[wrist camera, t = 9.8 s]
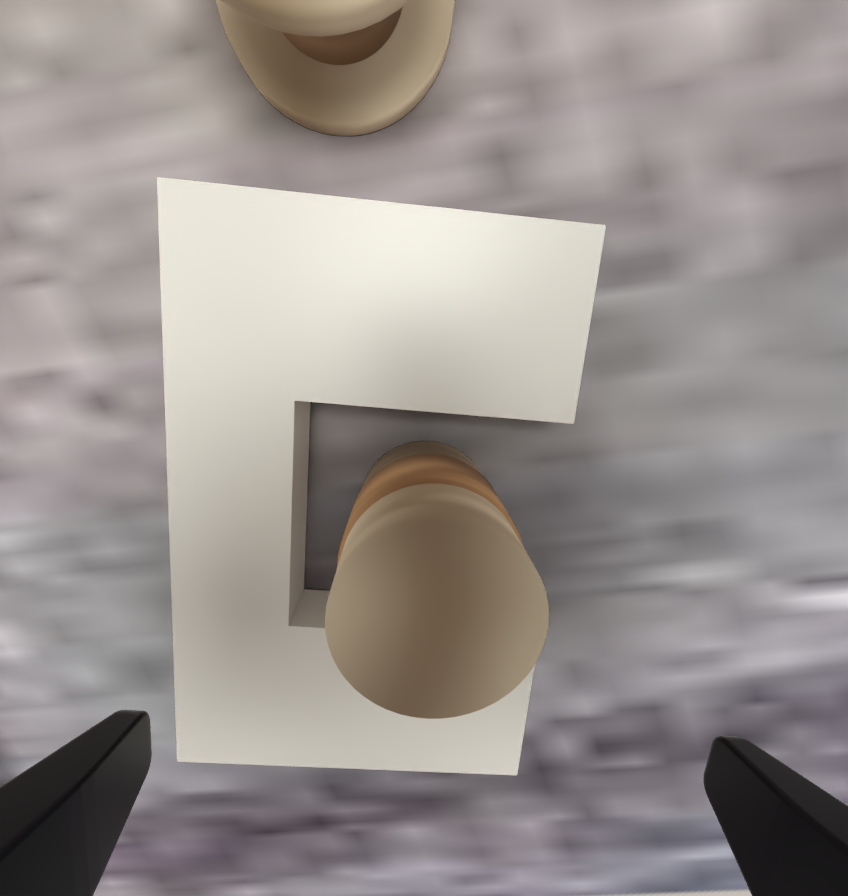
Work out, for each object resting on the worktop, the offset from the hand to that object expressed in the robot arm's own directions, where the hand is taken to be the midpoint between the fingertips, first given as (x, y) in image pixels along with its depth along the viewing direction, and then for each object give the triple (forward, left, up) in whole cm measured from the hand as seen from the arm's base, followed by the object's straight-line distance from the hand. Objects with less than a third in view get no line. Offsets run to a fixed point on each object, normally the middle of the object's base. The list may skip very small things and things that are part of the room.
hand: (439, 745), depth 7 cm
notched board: (+2, 0, -11) cm, 11 cm away
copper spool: (0, 0, -11) cm, 11 cm away
